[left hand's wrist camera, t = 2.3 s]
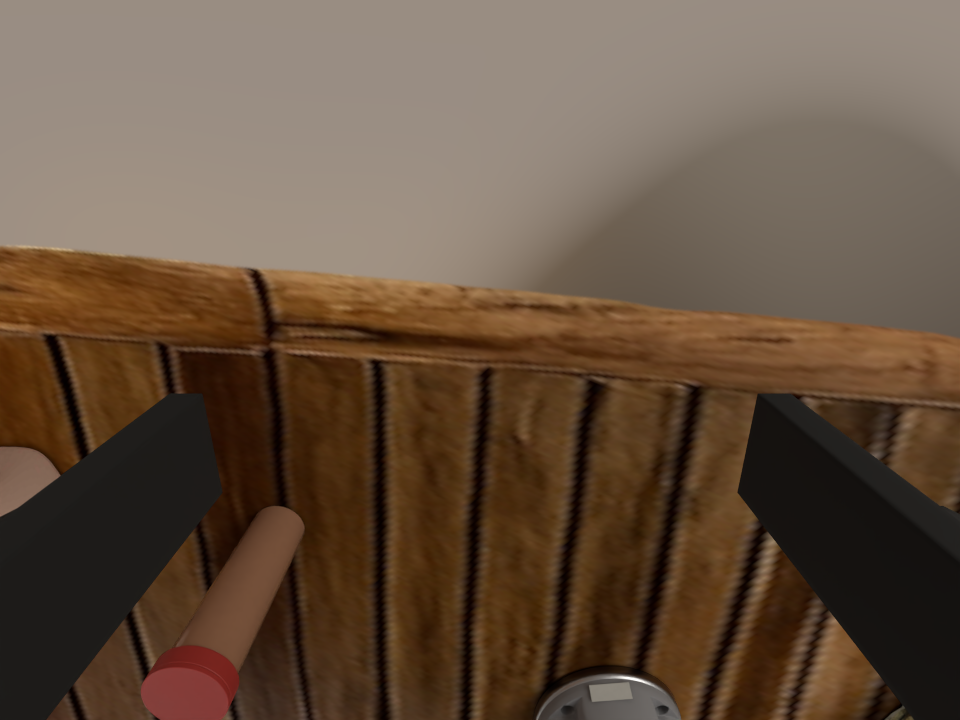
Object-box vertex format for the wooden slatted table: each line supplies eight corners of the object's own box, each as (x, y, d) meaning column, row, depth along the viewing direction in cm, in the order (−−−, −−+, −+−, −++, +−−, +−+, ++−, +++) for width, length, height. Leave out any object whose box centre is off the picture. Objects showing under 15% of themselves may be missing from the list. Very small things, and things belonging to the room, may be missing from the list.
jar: (303, 507, 47) (222, 667, 32) (305, 548, 48) (229, 719, 34) (251, 504, 47) (145, 663, 32) (255, 545, 48) (156, 715, 34)
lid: (235, 647, 33) (224, 669, 31) (243, 706, 35) (232, 730, 33) (149, 642, 33) (133, 665, 31) (161, 702, 35) (147, 726, 33)
